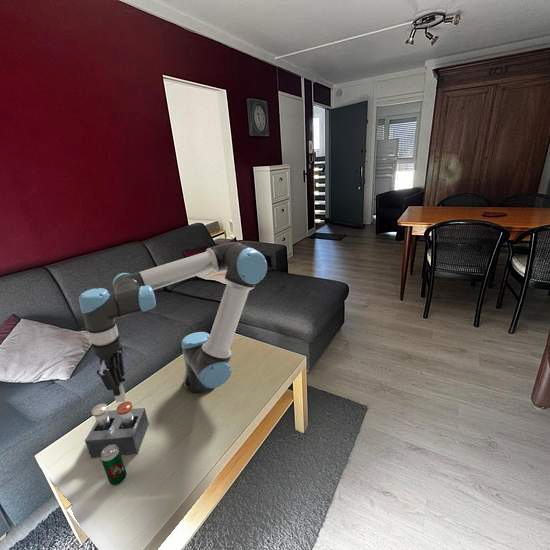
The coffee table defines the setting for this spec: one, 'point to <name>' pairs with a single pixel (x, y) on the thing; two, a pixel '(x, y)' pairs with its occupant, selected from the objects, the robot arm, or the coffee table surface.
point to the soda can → (113, 464)
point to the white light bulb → (101, 416)
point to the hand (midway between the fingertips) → (121, 400)
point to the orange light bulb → (126, 414)
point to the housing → (118, 434)
